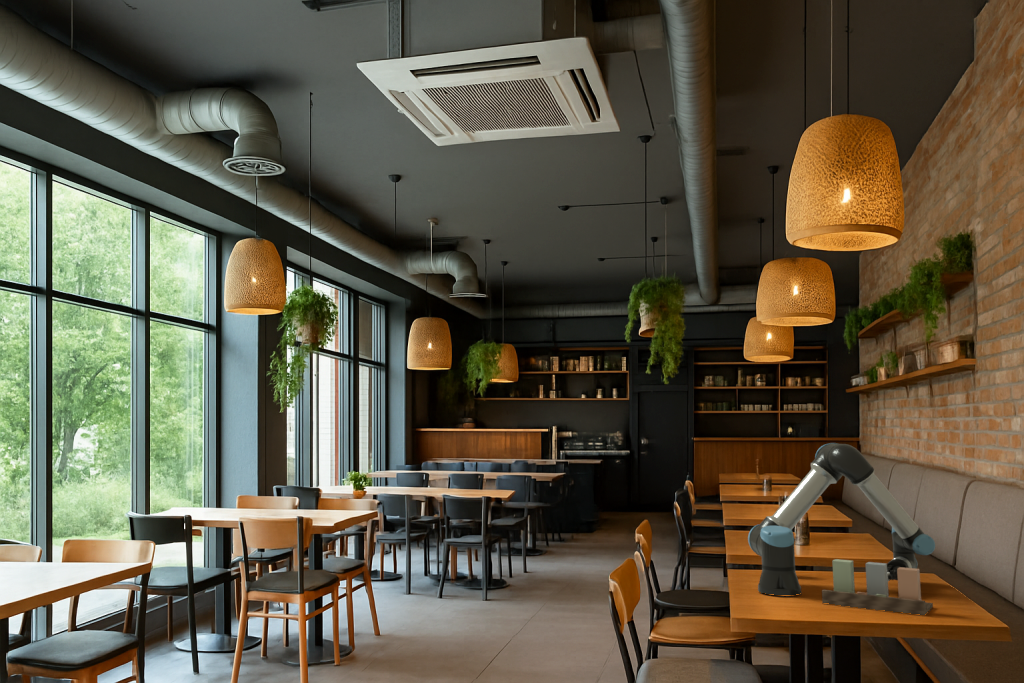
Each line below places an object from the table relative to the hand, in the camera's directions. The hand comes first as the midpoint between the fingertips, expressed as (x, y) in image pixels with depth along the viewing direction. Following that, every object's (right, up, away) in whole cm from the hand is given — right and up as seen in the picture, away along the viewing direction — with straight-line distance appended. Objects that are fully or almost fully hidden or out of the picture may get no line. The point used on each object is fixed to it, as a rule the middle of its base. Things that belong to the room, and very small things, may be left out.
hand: (883, 578), depth 286 cm
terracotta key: (0, -4, -18) cm, 19 cm away
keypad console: (-7, -6, -10) cm, 14 cm away
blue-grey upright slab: (-6, -5, -8) cm, 11 cm away
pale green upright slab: (-14, -6, -2) cm, 15 cm away
